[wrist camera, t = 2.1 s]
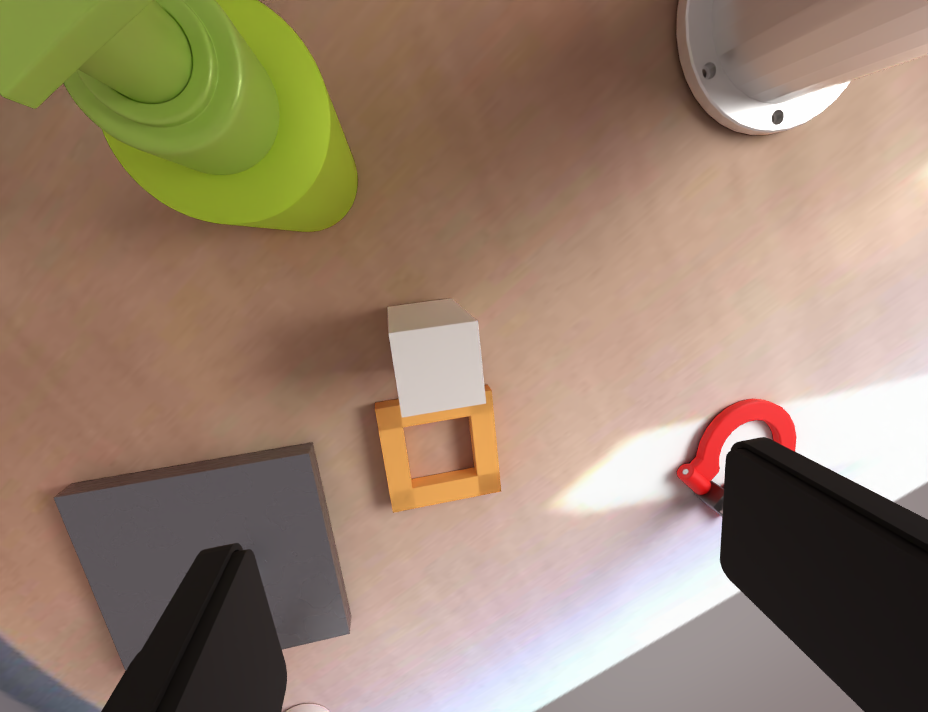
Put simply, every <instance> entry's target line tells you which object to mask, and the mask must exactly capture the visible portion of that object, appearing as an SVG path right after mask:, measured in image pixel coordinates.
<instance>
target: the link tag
mask: <svg viewBox="0 0 928 712" xmlns="http://www.w3.org/2000/svg"><path fill="white" fill-rule="evenodd" d="M387 309H388V333H389V340H390V346H391V352H392V359H393V365H394V371H395V378H396V384H397V390H398V397H399V399H394V400H388V401H382V402H375V413H376V419H377V425H378V430H379V436H380V442H381V448H382V453H383V459H384V465H385V470H386V476H387V482H388V487H389V493H390V499H391V505H392V510H393V513H394V512H399V511H404V510H409V509H414V508H419V507H424V506H429V505H434V504H439V503H444V502H450V501H455V500H460V499H465V498H470V497H475V496H480V495H485V494H490V493H495V492H500V491H501V484H500V474H499V463H498V453H497V442H496V432H495V422H494V411H493V401H492V390H491V389H490V387H489V386H488V385H484V377H483V367H482V357H481V347H480V337H479V327H478V320H476V319H475V318H474V317H473V316H472V315H471V314H469V313H468V312H467V311H466V310H465V309H464V308H463V307H461V306H460V305H459V304H458V303H457V302H456V301H455V300H453V299H452V298H449V299H442V300H434V301H427V302H419V303H412V304H404V305H397V306H389V307H387ZM467 416H468V417H469V426H470V435H471V443H472V452H473V461H474V467H473V468H468V469H462V470H457V471H452V472H446V473H441V474H436V475H430V476H425V477H420V478H414V479H411V474H410V468H409V461H408V455H407V449H406V442H405V436H404V430H403V427H408V426H414V425H420V424H426V423H432V422H438V421H443V420H449V419H455V418H461V417H467Z"/></svg>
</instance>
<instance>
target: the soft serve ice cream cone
mask: <svg viewBox="0 0 928 712" xmlns="http://www.w3.org/2000/svg"><path fill="white" fill-rule="evenodd" d="M286 712H330V711H329V710H328V709H326V708H325V707H323V706H321V705H317V704H301V705H297V706H294V707H292V708H290V709H288V710H287V711H286Z"/></svg>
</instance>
